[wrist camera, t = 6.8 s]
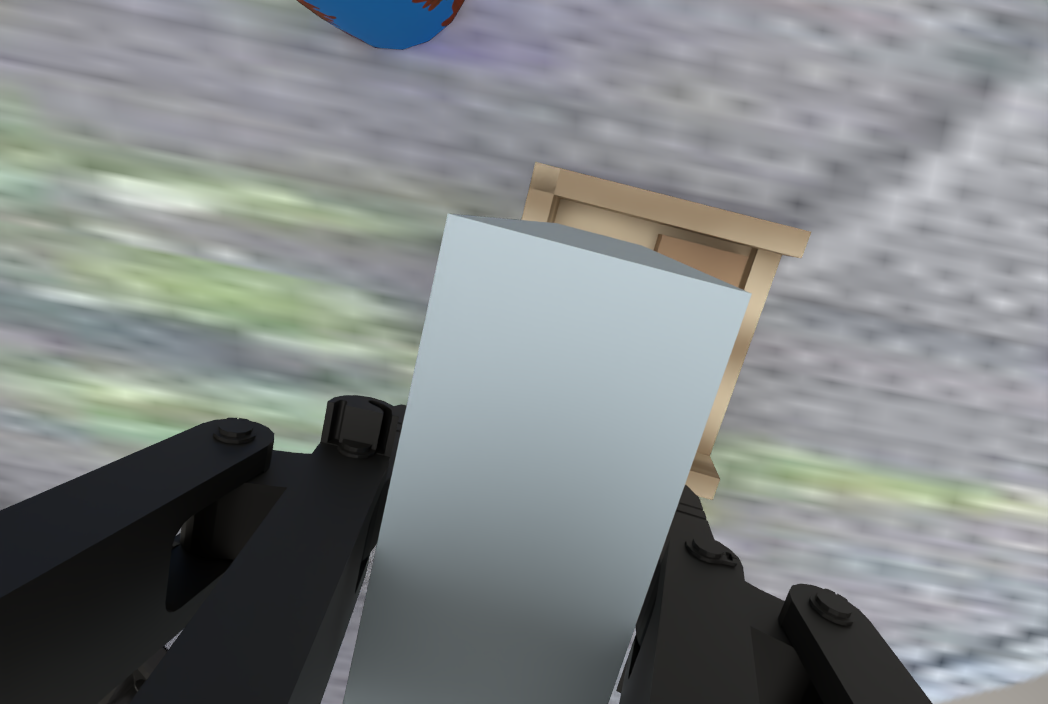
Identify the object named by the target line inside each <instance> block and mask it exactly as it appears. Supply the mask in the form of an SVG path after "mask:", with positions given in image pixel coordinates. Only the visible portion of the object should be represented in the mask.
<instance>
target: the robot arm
mask: <svg viewBox="0 0 1048 704" xmlns="http://www.w3.org/2000/svg"><path fill="white" fill-rule="evenodd" d="M406 407H407V406H405V405H402V404H401V405H397V406H392V405H390V404H388V403H386V402H384V401H382V400H378V399H375V398H371V397H365V396H358V395H345V396H339V397H334V398H333V399H331V400H329V401H328V403H327V409H326V414H325V420H324V425H323V431H322V436H321V442H320V443H319V445H318V446H317V448H316V449H315V450H314V452H313V453H312V454H303V453H292V452H284V451H276V450H273V443H274V433H273V432H272V431H271V430H270V429H269V428H268V427H266V426H264V425H262V424H259V423H256V422H252V421H249V420H248V419H242V418H239V419H237V418H227V419H221V420H213V421H209V422H206V423H202V424H200V425H198V426H195V427H193V428H191V429H188V430H186V431H184V432H181V433H179V434H177V435H175V436H172V437H170V438H168V439H165V440H163V441H161V442H158V443H156V444H154V445H151V446H149V447H147V448H144V449H142V450H140V451H137V452H135V453H133V454H131V455H128V456H126V457H124V458H121V459H119V460H117V461H114V462H112V463H110V464H107V465H105V466H103V467H100V468H98V469H96V470H94V471H91V472H89V473H87V474H84V475H82V476H80V477H77V478H75V479H73V480H70V481H68V482H66V483H63V484H61V485H59V486H56V487H54V488H52V489H50V490H47V491H45V492H43V493H40V494H38V495H36V496H33V497H31V498H29V499H26V500H24V501H22V502H19V503H17V504H15V505H13V506H10V507H8V508H6V509H3V510H1V511H0V704H320V703H321V700H322V698H323V695H324V692H325V689H326V686H327V683H328V680H329V678H330V675H331V672H332V669H333V666H334V663H335V661H336V658H337V655H338V652H339V649H340V646H341V644H342V641H343V638H344V635H345V632H346V629H347V626H348V624H349V621H350V618H351V615H352V612H353V609H354V607H355V604H356V601H357V598H358V595H359V592H360V589H361V587H362V584H363V581H364V578H365V575H366V571H367V566H368V561H369V556H370V552H371V551H372V550H373V548H374V547H375V545H376V544H377V542H378V537H379V532H380V528H381V523H382V518H383V514H384V509H385V504H386V500H387V495H388V490H389V486H390V481H391V476H392V472H393V467H394V462H395V458H396V453H397V448H398V444H399V439H400V435H401V430H402V425H403V421H404V416H405V411H406ZM180 528H181V533H180V534H178V535H177V536H176V534H177V533H178V531H179V530H180ZM181 630H183V631H182V632H181V634H180V635H179V636H178V638H177V639H176V640H175V642H174V643H173V644H172V646H171V647H170V649H169V650H168V651H166V650H165V649H164V648H163V646H164V645H165V644H166V643H168V642H169V641H170V640H171V639H172V638H173V637H175V636H176V635H177V634H178V633H179V632H180V631H181ZM616 691H618V692H620V693H621V697H620V702H619V704H932V702H931V701H930V700H929V698H928V697H927V696H926V694H925V693H924V692H923V690H922V689H921V688H920V686H919V685H918V684H917V683H916V681H915V680H914V679H913V677H912V676H911V675H910V673H909V672H908V671H907V669H906V668H905V667H904V665H903V664H902V663H901V661H900V660H899V659H898V657H897V656H896V655H895V653H894V652H893V651H892V650H891V648H890V647H889V646H888V644H887V643H886V642H885V640H884V639H883V638H882V636H881V635H880V634H879V632H878V631H877V630H876V628H875V627H874V626H873V624H872V623H871V622H870V621H869V619H868V618H867V617H866V616H865V615H864V614H863V613H862V612H861V611H860V610H859V609H857V608H856V607H855V606H853V605H852V604H851V603H849V602H848V601H847V599H845V598H844V597H842V596H841V595H839V594H837V595H836V594H835V592H833V591H831V590H829V589H822V588H820V587H817V586H814V585H807V584H797V585H792V587H791V589H790V591H789V593H788V595H787V597H786V600H785V601H783V600H781V599H779V598H777V597H775V596H773V595H770V594H768V593H766V592H764V591H762V590H760V589H758V588H756V587H754V586H753V585H751V584H749V583H747V582H746V581H745V580H744V571H743V566H742V564H741V561H740V559H739V558H738V557H737V556H736V555H735V554H734V553H733V552H732V551H731V550H730V549H729V548H727V547H726V546H724V545H723V544H721V543H720V542H718V541H716V540H714V538H713V535H712V532H711V529H710V527H709V524H708V521H706V516H705V513H704V511H703V507H702V505H701V502H700V499H699V497H698V496H697V495H696V494H695V493H694V492H693V491H692V490H691V489H690V488H689V487H688V486H687V485H685V486H684V489H683V491H682V494H681V497H680V500H679V503H678V506H677V509H676V511H675V514H674V517H673V520H672V523H671V526H670V528H669V531H668V534H667V537H666V540H665V543H664V546H663V548H662V551H661V554H660V557H659V560H658V563H657V566H656V568H655V571H654V574H653V577H652V580H651V583H650V585H649V588H648V591H647V594H646V597H645V600H644V603H643V605H642V608H641V611H640V614H639V617H638V620H637V623H636V636H635V639H634V642H633V644H632V647H631V650H630V653H629V656H628V659H627V661H626V664H625V667H624V670H623V673H622V676H621V678H620V681H619V684H618V687H617V690H616Z"/></svg>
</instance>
